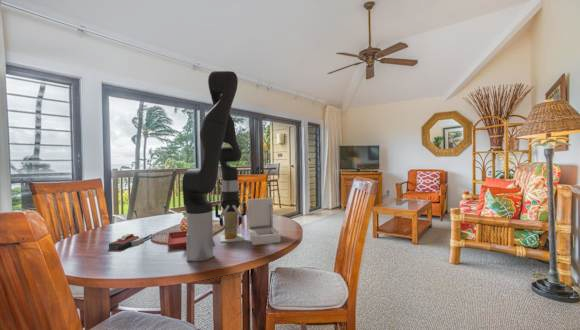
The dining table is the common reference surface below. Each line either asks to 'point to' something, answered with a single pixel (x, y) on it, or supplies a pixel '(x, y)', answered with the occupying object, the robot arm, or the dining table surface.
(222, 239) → the sage mat
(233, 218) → the shoe polish box
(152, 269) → the dining table surface
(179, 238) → the plant saucer
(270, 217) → the rod
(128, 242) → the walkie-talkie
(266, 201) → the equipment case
